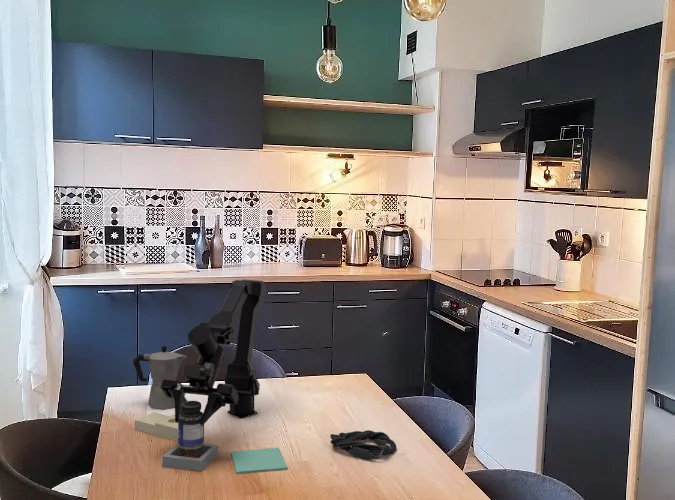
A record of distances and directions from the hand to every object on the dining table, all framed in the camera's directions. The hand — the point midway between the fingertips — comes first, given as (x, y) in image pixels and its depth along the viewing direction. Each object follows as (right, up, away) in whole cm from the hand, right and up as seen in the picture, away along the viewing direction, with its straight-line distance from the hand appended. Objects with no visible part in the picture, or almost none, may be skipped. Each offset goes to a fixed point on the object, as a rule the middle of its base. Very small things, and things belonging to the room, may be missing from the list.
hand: (188, 423), depth 157 cm
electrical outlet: (-10, -8, +20) cm, 23 cm away
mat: (+16, -10, +3) cm, 19 cm away
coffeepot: (-18, -5, +41) cm, 45 cm away
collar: (0, -10, +2) cm, 10 cm away
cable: (+42, -10, +13) cm, 45 cm away
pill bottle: (0, -7, +2) cm, 7 cm away
